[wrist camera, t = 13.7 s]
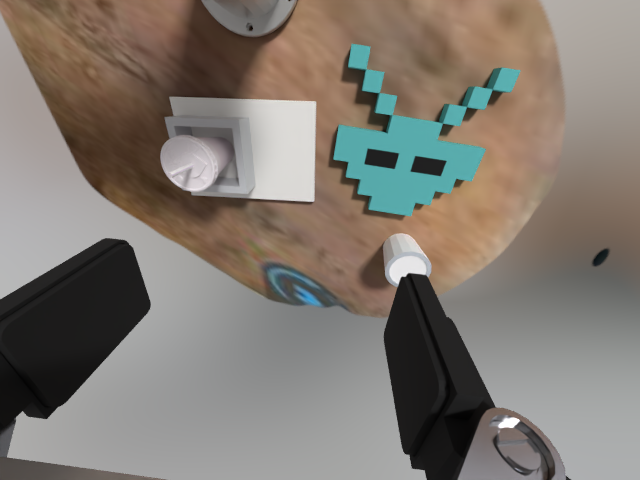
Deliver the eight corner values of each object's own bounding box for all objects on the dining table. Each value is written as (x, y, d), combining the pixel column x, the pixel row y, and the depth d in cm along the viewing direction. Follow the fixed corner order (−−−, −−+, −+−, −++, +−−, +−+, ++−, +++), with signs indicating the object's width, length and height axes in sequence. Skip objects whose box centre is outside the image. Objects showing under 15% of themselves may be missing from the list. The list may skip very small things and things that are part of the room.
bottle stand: (173, 96, 36) (149, 96, 31) (316, 101, 34) (312, 102, 30) (194, 193, 42) (178, 204, 38) (314, 199, 41) (311, 211, 37)
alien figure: (351, 46, 32) (327, 198, 42) (351, 43, 30) (326, 202, 40) (509, 72, 32) (448, 216, 42) (520, 70, 30) (453, 222, 40)
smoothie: (247, 170, 39) (204, 204, 27) (207, 173, 40) (148, 207, 27) (237, 124, 36) (183, 139, 24) (194, 128, 36) (120, 144, 24)
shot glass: (415, 224, 42) (427, 246, 36) (422, 257, 45) (435, 282, 39) (374, 236, 44) (379, 259, 38) (384, 267, 47) (390, 293, 41)
